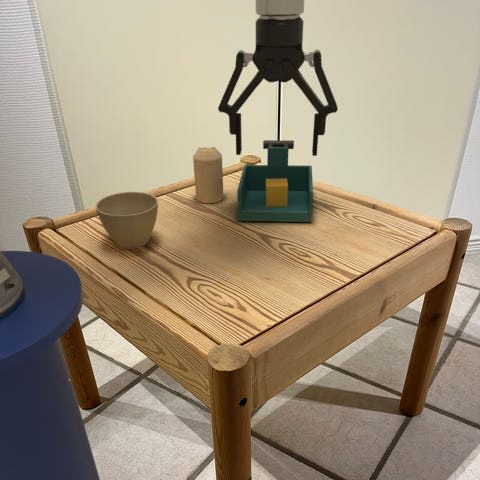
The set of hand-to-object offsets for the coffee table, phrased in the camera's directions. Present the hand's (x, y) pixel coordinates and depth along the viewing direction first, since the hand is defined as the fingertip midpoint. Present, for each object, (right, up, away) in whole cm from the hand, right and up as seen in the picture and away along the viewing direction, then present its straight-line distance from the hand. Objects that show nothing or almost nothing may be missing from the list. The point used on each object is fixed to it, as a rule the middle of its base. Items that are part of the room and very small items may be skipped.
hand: (276, 153), depth 92 cm
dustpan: (0, -7, +7) cm, 10 cm away
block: (0, -8, +5) cm, 9 cm away
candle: (-13, -6, +10) cm, 17 cm away
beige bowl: (-25, -17, -5) cm, 30 cm away
